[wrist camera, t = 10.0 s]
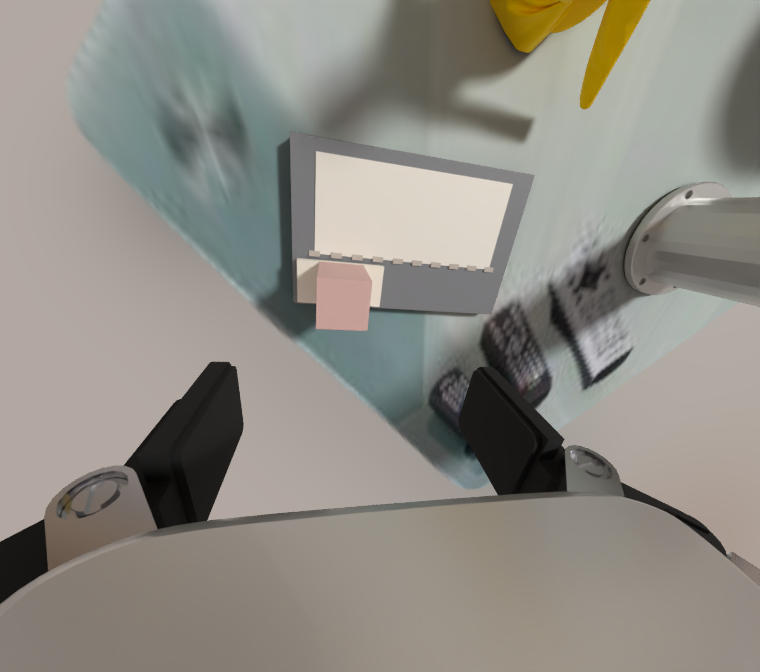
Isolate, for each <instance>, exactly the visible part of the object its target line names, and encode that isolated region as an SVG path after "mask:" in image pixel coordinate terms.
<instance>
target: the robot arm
mask: <svg viewBox="0 0 760 672" xmlns="http://www.w3.org/2000/svg"><path fill="white" fill-rule="evenodd" d="M625 275H626V278H627V281H628V283H629V284H630V285H631V286H632V287H633V288H634V289H635V290H637V291H639V292H643V293H646V294H651V295H659V294H665V293H668V292H671V291H674V290H676V289H678V288H683V289H687V290H691V291H695V292H700V293H704V294H708V295H712V296H716V297H721V298H725V299H729V300H733V301H738V302H742V303H746V304H750V305H755V306H759V307H760V197H744V198H732V196H731V195H730V193H729V191H728V190H727V189H726V188H725V187H724V186H723V185H721V184H718V183H716V182H701V183H692V184H689V185H686V186H683V187H681V188H679V189H677V190H675V191H673V192H671V193H670V194H669V195H667V196H666V197H664V198H663V199H662V200H661V201H660V202H658V203H657V204H656V205H655V206H654V207H653V208H652V209H651V210H650V211H649V213H648V214H647V215H646V216H645V217H644V218H643V220H642V221H641V223H640V224H639V226H638V227H637V229H636V231H635V232H634V234H633V236H632V238H631V240H630V243H629V246H628V248H627V252H626V257H625ZM459 427H460V429H461V431H462V432H463V434H464V436H465V438H466V439H467V441H468V443H469V445H470V446H471V448H472V450H473V452H474V453H475V455H476V457H477V459H478V461H479V462H480V464H481V466H482V468H483V469H484V471H485V473H486V475H487V476H488V478H489V480H490V482H491V484H492V485H493V487H494V489H495V491H496V492H497V494H498V495H497V496H484V497H470V498H457V499H444V500H431V501H419V502H407V503H394V504H382V505H371V506H358V507H346V508H335V509H323V510H311V511H300V512H288V513H277V514H267V515H257V516H247V517H238V518H228V519H218V520H209V521H207V520H208V517H209V514H210V512H211V510H212V507H213V504H214V502H215V500H216V497H217V494H218V492H219V489H220V487H221V485H222V482H223V480H224V477H225V475H226V472H227V469H228V467H229V465H230V462H231V460H232V457H233V455H234V452H235V450H236V447H237V445H238V442H239V440H240V437H241V435H242V431H243V416H242V408H241V400H240V392H239V385H238V377H237V369H236V367H235V366H231V364H230V363H229V362H210V363H209V365H208V366H207V367H206V368H205V370H204V371H203V372H202V373H201V375H200V376H199V377H198V378H197V380H196V381H195V382H194V383H193V385H192V386H191V387H190V389H189V390H188V391H187V392H186V394H185V395H184V396H183V397H182V399H179V400H177V401H176V402H175V403H174V404H173V405H172V406H171V407H170V409H169V410H168V411H167V413H166V414H165V415H164V416H163V417H162V419H161V420H160V421H159V422H158V424H157V425H156V426H155V427H154V429H153V430H152V431H151V432H150V433H149V435H148V436H147V437H146V438H145V440H144V441H143V442H142V443H141V445H140V446H139V447H138V448H137V450H136V451H135V452H134V453H133V455H132V456H131V457H130V458H129V460H128V461H127V462H126V463H125V465H124V466H111V467H106V468H101V469H99V470H96V471H93V472H90V473H88V474H86V475H84V476H82V477H80V478H78V479H76V480H75V481H73V482H72V483H70V484H69V485H68V486H66V487H65V488H63V489H62V490H61V491H60V492H59V493H58V494H57V495H56V496H55V497H54V498H53V499H52V500H51V502H50V503H49V505H48V507H47V508H46V512H45V516H44V519H43V520H41V521H39V522H38V523H36V524H34V525H32V526H30V527H28V528H26V529H24V530H22V531H20V532H18V533H16V534H14V535H12V536H11V537H9V538H7V539H5V540H3V541H1V542H0V672H760V569H758V568H757V567H755V566H754V565H752V564H751V563H749V562H747V561H746V560H744V559H743V558H741V557H739V556H738V555H737V554H735V553H733V552H731V553H730V554H729V555H727V554H726V551H725V549H724V547H723V546H722V544H721V542H720V541H719V540H718V539H717V538H716V537H715V536H714V535H713V533H711V532H710V531H709V530H708V529H707V528H706V527H705V526H704V525H703V524H702V523H701V522H699V521H698V520H696V519H695V518H693V517H691V516H689V515H687V514H685V513H683V512H681V511H679V510H677V509H675V508H673V507H671V506H669V505H667V504H665V503H663V502H661V501H658V500H657V499H655V498H652V497H650V496H648V495H646V494H644V493H642V492H640V491H638V490H636V489H634V488H632V487H630V486H628V485H626V484H624V483H621V482H620V479H619V475H618V473H617V471H616V469H615V468H614V467H613V465H612V464H611V463H610V462H608V461H607V460H606V459H605V458H604V457H602V456H601V455H599V454H598V453H596V452H594V451H592V450H590V449H588V448H585V447H582V446H576V445H573V446H568V447H567V448H566V449H564V448H563V447H562V446H561V445H562V443H563V441H564V438H563V437H562V436H561V435H560V434H559V433H558V432H557V431H556V430H555V429H554V428H553V427H552V426H551V425H550V424H549V423H548V422H547V421H546V420H545V419H544V418H543V417H542V416H541V415H540V414H539V413H538V412H537V411H536V410H535V409H534V408H533V407H532V406H531V405H530V404H529V403H528V402H527V401H526V400H525V399H524V398H523V397H522V396H521V395H520V394H519V393H518V391H517V390H516V389H515V388H514V387H513V386H512V385H511V384H510V383H509V382H508V381H507V380H506V379H505V378H504V377H503V376H502V375H501V374H500V373H499V372H498V371H497V370H496V369H495V368H493V367H479V368H478V369H477V370H475V371H474V372H473V375H472V378H471V381H470V385H469V388H468V391H467V394H466V397H465V400H464V404H463V407H462V410H461V413H460V416H459Z"/></svg>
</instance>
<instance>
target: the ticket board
mask: <svg viewBox="0 0 760 672" xmlns="http://www.w3.org/2000/svg"><path fill="white" fill-rule="evenodd" d="M290 167H291V218H292V269H293V303H298V304H316V303H301V302H297V258H304V259H315V260H326V261H337V262H349V263H360V264H371V265H383V266H384V274H383V282H382V290H381V298H380V306H379V307H371V306H370V308H387V309H405V310H423V311H441V312H459V313H476V314H492V311H493V307H494V304H495V301H496V298H497V294H498V291H499V288H500V285H501V282H502V278H503V275H504V272H505V269H506V266H507V262H508V259H509V256H510V253H511V249H512V246H513V243H514V240H515V237H516V233H517V230H518V227H519V224H520V221H521V217H522V214H523V211H524V208H525V204H526V201H527V198H528V195H529V192H530V188H531V185H532V182H533V179H534V176H535V175H531V174H525V173H519V172H514V171H508V170H502V169H497V168H491V167H486V166H480V165H474V164H469V163H463V162H458V161H452V160H446V159H441V158H435V157H430V156H424V155H418V154H413V153H407V152H402V151H396V150H390V149H385V148H379V147H373V146H368V145H362V144H357V143H351V142H345V141H340V140H334V139H329V138H323V137H317V136H312V135H306V134H301V133H295V132H290Z"/></svg>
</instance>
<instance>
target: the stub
mask: <svg viewBox="0 0 760 672" xmlns="http://www.w3.org/2000/svg"><path fill="white" fill-rule="evenodd" d="M383 274H384V266H383V265H371V264H360V263H349V262H337V261H326V260H315V259H304V258H297V302H301V303H316V329H333V330H359V331H367V328H368V319H369V309H370V306H371V307H379V306H380V298H381V290H382V282H383Z"/></svg>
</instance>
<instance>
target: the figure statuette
mask: <svg viewBox="0 0 760 672" xmlns="http://www.w3.org/2000/svg"><path fill="white" fill-rule="evenodd" d="M605 1H607V0H490V3H491V6H492V8H493V10H494V12H495V14H496V16H497V18H498V20H499V22H500V23H501V25H502V28H503V30H504V32H505V33H506V35H507V36H508V38H509V39H510V40H511V42H512V43H513V45H514V46H515V48H516V49H517V50H519V51H522V52H526V53H529V52H531V51H532V50H533V49H534V48H535V47H536V46H537V45H538V44H539V43H540V42H541V41H542V40H543V39H544V38H545V37H546V36H547V35H548V34H549V33H557V32H561V31H564V30H566V29H569V28H571V27H573V26H575V25H576V24H578V23H580V22H582V21H583V20H584V19H586V18H587V17H589V16H590V15H591V14H592V13H593V12H595V11H596V10H597V9H598V8H599V7H600V6H601V5H602V4H603V3H604V2H605ZM649 2H650V0H609V1H608V4H607V7H606V10H605V13H604V16H603V19H602V22H601V25H600V27H599V30H598V33H597V36H596V39H595V42H594V45H593V48H592V51H591V54H590V58H589V61H588V65H587V68H586V72H585V76H584V80H583V84H582V89H581V94H580V107H581V108H582V109H587V108H589V107H590V106H591V105H592V103H593V101H594V99H595V98H596V96H597V94H598V92H599V91H600V89H601V87H602V85H603V84H604V82H605V80H606V78H607V77H608V75H609V73H610V71H611V70H612V68H613V66H614V64H615V63H616V61H617V59H618V57H619V56H620V54H621V52H622V50H623V49H624V47H625V45H626V44H627V42H628V40H629V38H630V37H631V35H632V33H633V32H634V30H635V28H636V26H637V24H638V23H639V21H640V19H641V17H642V15H643V13H644V11H645V10H646V8H647V6H648V4H649Z"/></svg>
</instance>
